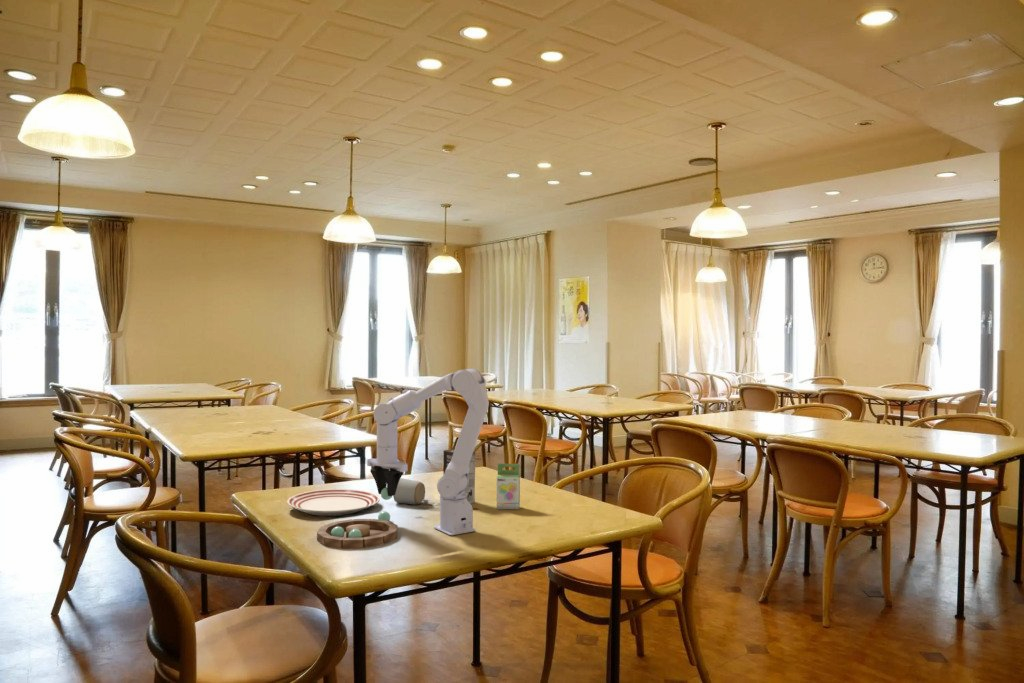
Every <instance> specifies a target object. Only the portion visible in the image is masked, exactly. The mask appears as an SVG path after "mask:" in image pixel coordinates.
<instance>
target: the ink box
mask: <svg viewBox="0 0 1024 683" xmlns="http://www.w3.org/2000/svg"><path fill="white" fill-rule="evenodd" d="M509 467H510V468H513V469H504V468H509ZM520 484H521V475H520V463H497V475H496V510H518V511H519V510H520V506H521V505H520V504H521V501H520V500H521V497H520V496H521V495H520V494H521V493H520V492H521V485H520Z"/></svg>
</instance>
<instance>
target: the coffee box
mask: <svg viewBox="0 0 1024 683" xmlns="http://www.w3.org/2000/svg"><path fill="white" fill-rule="evenodd" d="M454 450H455V448H454V449H453V448H452V449H445V450H443V470H442V471H443V474H442V476H443V475H444V473H445V470H446V468H447V467H448V465H449V463H450V462H451V459H452V456H453V453H454ZM469 468H470V470H469V473H468V479H469V483H468V486H467V488H466V489H465V492H466V498H467V501H468V502H469V503H470V504H474V503H475V500H476V499H475V497H476V496H475V494H476V452H474V451H473V454H472V457H471V460H470V463H469Z"/></svg>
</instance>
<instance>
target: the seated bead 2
mask: <svg viewBox="0 0 1024 683" xmlns="http://www.w3.org/2000/svg"><path fill="white" fill-rule="evenodd" d="M348 538H362V533H361V531H360V530H358V529H353V530H351V531H350V533H349V535H348Z"/></svg>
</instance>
